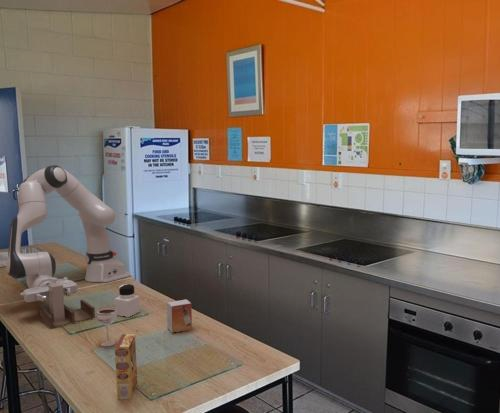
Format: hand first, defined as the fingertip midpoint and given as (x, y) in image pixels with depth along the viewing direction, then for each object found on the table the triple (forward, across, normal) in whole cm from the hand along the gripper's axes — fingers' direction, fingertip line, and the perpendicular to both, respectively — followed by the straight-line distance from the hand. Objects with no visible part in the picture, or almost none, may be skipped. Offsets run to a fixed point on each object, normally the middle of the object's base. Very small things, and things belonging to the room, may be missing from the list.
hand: (56, 296), depth 187 cm
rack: (0, +4, +10) cm, 11 cm away
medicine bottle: (+9, +25, +10) cm, 28 cm away
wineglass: (+32, +7, +10) cm, 35 cm away
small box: (+37, +33, +10) cm, 51 cm away
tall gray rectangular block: (0, 0, +9) cm, 9 cm away
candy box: (+67, -2, +10) cm, 68 cm away
